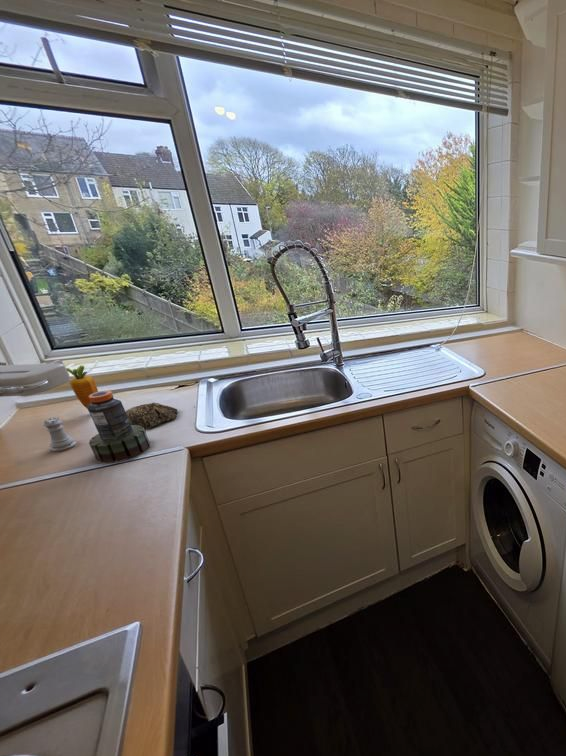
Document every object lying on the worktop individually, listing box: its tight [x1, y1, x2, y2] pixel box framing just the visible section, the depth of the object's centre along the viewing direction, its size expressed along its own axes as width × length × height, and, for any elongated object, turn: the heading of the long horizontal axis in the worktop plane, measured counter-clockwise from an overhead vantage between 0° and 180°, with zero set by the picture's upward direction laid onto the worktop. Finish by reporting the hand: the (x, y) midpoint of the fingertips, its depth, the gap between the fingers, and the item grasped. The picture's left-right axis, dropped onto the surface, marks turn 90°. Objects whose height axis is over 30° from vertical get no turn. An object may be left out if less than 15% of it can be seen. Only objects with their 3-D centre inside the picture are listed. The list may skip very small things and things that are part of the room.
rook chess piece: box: [42, 416, 77, 452], centre depth 101 cm, size 4×4×8 cm
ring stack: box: [88, 425, 151, 464], centre depth 101 cm, size 10×10×5 cm
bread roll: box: [125, 402, 179, 429], centre depth 116 cm, size 13×12×5 cm
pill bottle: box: [87, 390, 133, 440], centre depth 98 cm, size 6×6×11 cm
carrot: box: [66, 364, 99, 410], centre depth 117 cm, size 5×5×15 cm
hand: (31, 364), depth 80 cm, fingers open, 8 cm apart
